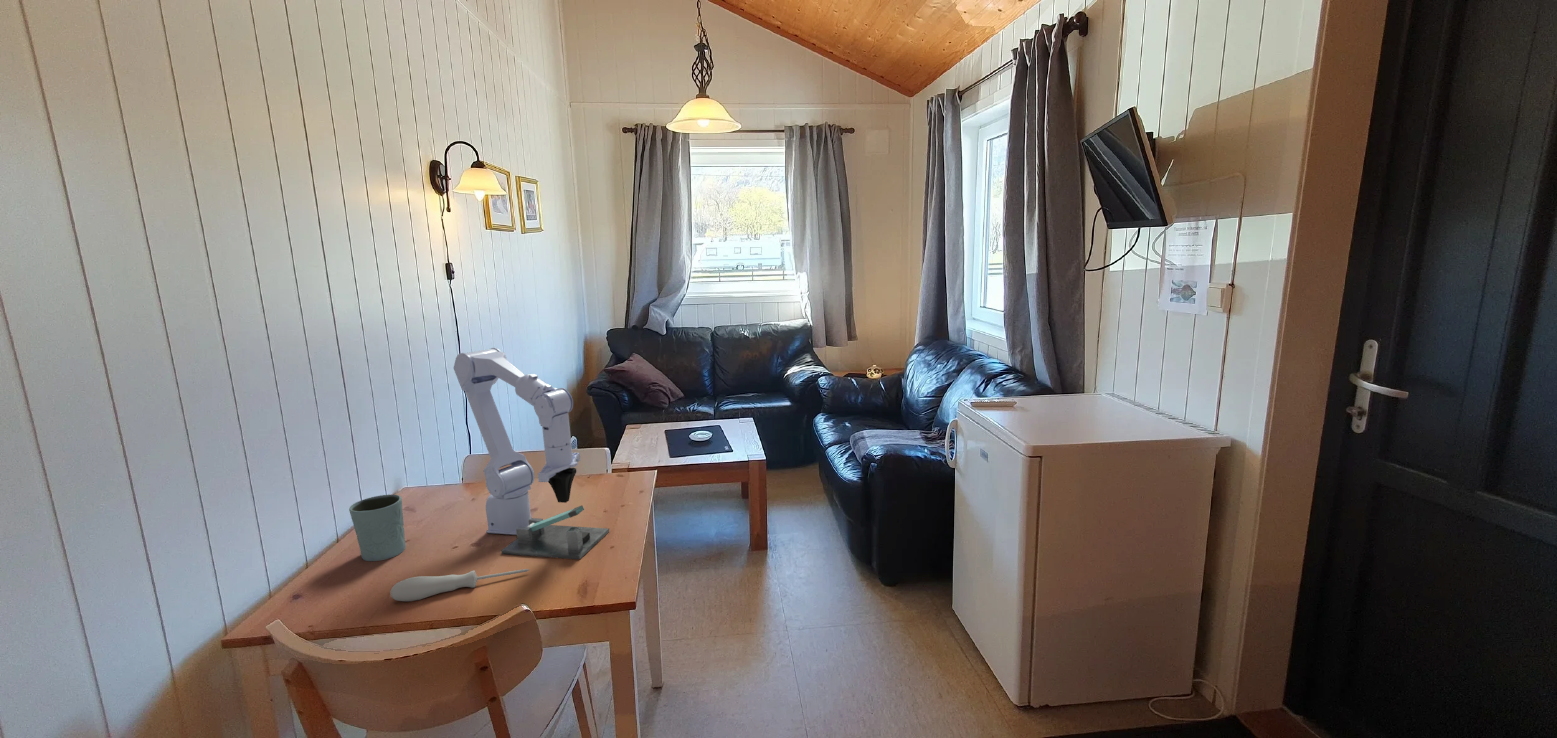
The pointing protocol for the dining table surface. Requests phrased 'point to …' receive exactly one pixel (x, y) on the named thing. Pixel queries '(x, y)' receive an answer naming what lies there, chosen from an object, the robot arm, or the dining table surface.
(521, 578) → the dining table surface
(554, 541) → the plate
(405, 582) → the screwdriver
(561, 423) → the robot arm
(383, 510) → the green cup
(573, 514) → the teal rectangular bar
